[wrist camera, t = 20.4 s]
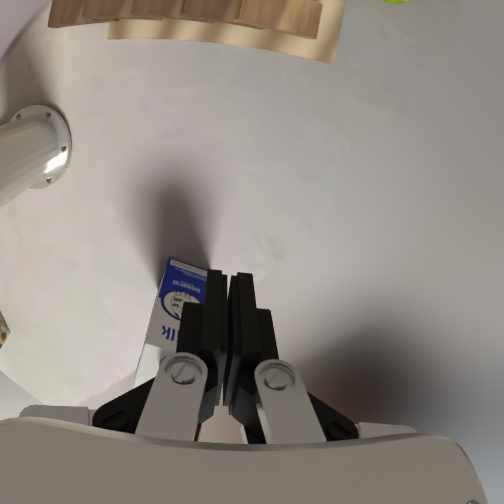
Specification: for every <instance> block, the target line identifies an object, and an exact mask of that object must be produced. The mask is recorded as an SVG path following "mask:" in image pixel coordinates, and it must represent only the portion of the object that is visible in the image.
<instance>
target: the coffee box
mask: <svg viewBox="0 0 504 504" xmlns="http://www.w3.org/2000/svg"><path fill="white" fill-rule="evenodd" d="M9 334H10V330H9V328H8V326H7V324H6V322H5V320H4V318H3V316H2V314H1V312H0V348H1V347H2V345H3V343H4V342H5V340H6V338H7V337H8V335H9Z"/></svg>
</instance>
